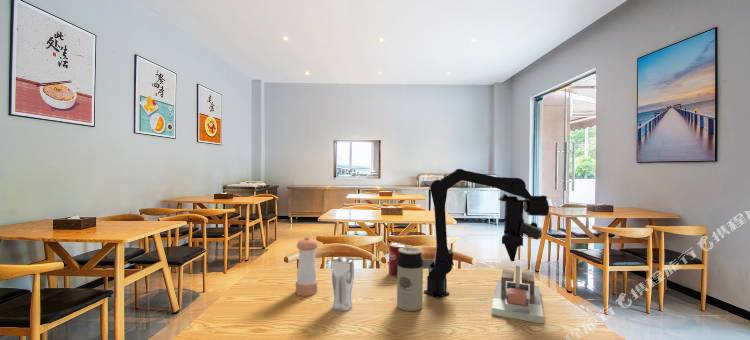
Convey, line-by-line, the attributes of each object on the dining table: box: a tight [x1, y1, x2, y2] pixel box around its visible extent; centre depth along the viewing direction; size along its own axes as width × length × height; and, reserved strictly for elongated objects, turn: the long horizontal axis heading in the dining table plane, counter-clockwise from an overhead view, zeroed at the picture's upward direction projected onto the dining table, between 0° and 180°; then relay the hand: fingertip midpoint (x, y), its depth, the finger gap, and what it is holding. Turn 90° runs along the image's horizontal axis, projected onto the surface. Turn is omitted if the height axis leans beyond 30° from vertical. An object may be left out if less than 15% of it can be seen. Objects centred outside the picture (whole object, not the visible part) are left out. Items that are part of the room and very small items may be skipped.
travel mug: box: [396, 246, 424, 312], centre depth 107 cm, size 8×8×18 cm
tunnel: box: [500, 268, 535, 304], centre depth 112 cm, size 10×10×7 cm
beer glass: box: [331, 256, 355, 312], centre depth 106 cm, size 7×7×15 cm
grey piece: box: [505, 266, 529, 314], centre depth 103 cm, size 8×7×11 cm
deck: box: [491, 280, 545, 324], centre depth 112 cm, size 27×14×2 cm, turn 157°
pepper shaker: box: [295, 236, 318, 297], centre depth 118 cm, size 7×7×19 cm
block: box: [508, 288, 527, 306], centre depth 102 cm, size 5×5×5 cm
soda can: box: [388, 242, 408, 277], centre depth 139 cm, size 7×7×12 cm
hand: (512, 260), depth 115 cm, fingers closed
